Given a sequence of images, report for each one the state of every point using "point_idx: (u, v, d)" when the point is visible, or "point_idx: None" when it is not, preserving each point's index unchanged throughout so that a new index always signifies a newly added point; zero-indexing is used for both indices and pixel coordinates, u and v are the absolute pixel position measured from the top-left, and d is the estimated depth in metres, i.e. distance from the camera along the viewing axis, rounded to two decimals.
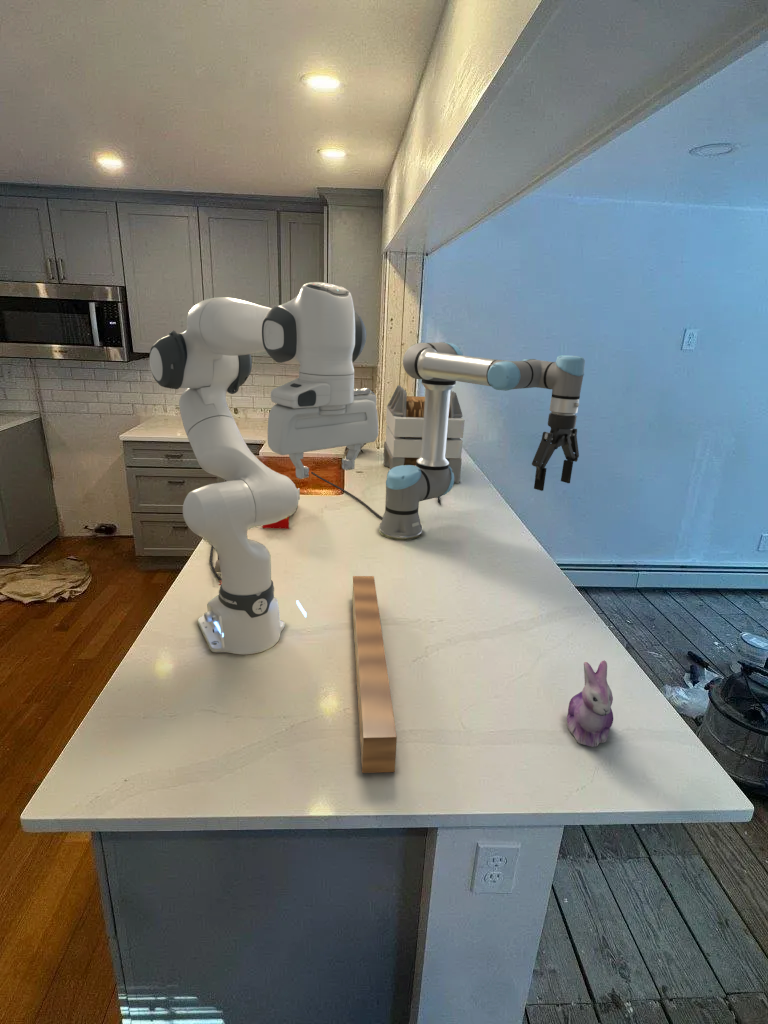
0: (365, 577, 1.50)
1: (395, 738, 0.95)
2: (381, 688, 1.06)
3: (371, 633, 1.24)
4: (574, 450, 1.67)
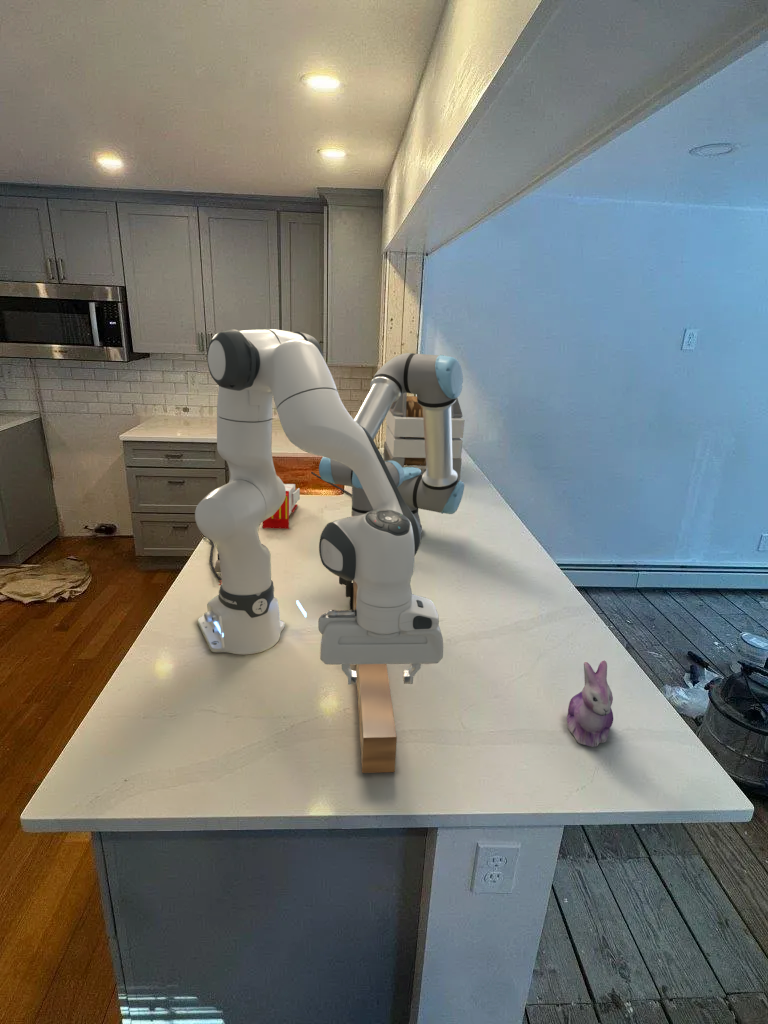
0: None
1: (395, 738, 0.95)
2: (381, 688, 1.06)
3: None
4: None
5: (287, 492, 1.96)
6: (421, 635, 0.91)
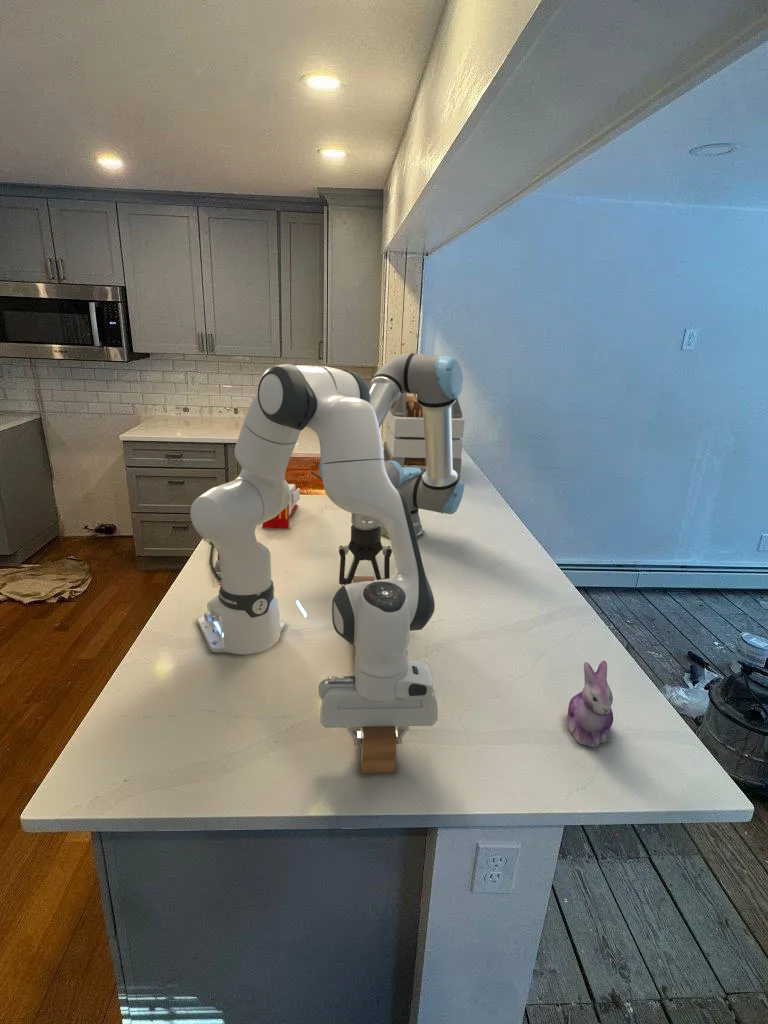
0: (365, 577, 1.50)
1: (395, 738, 0.95)
2: None
3: None
4: (384, 573, 1.46)
5: None
6: (417, 700, 0.96)
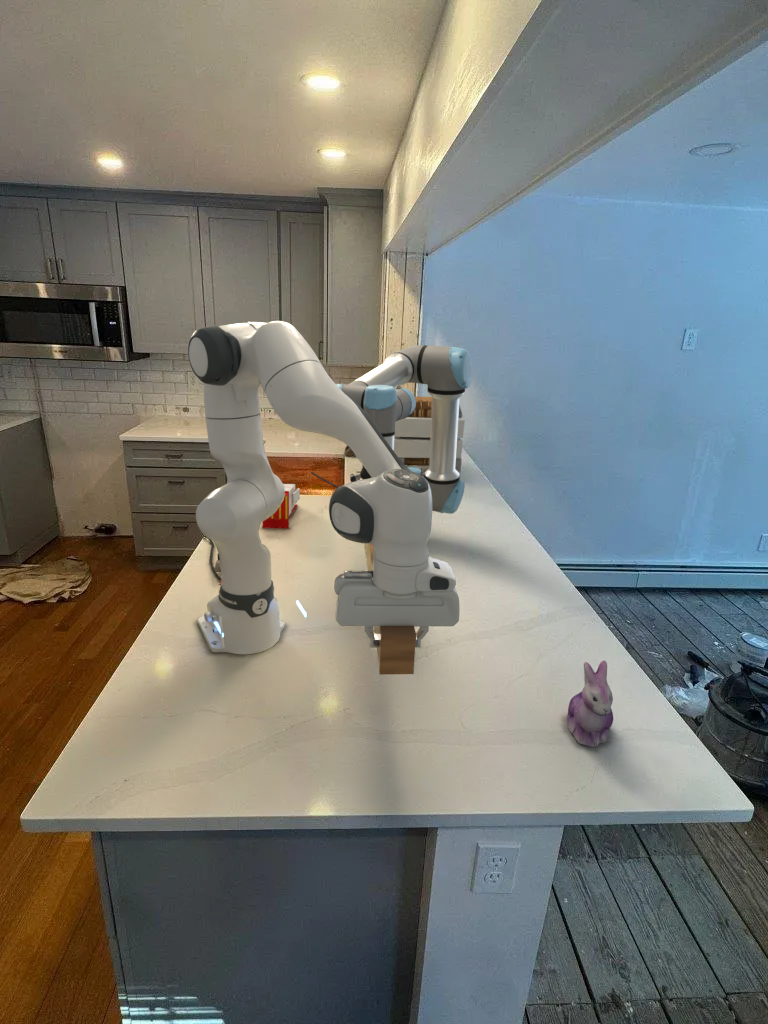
0: None
1: (414, 636, 0.90)
2: None
3: None
4: None
5: (287, 492, 1.96)
6: (438, 597, 0.91)
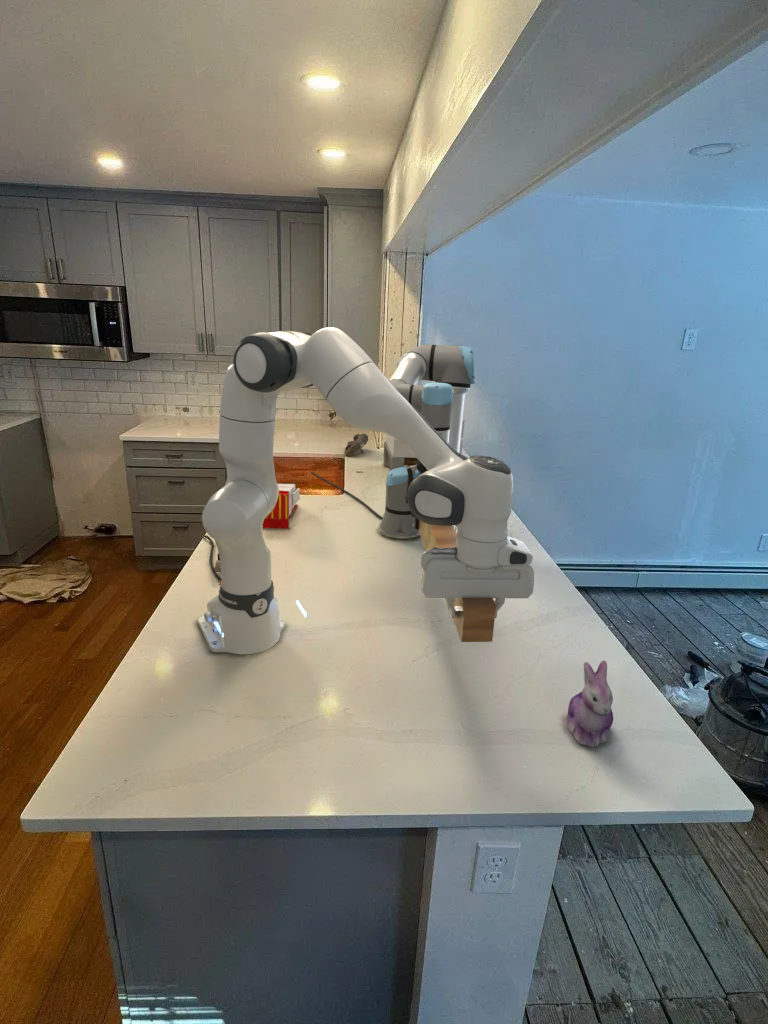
0: None
1: (494, 606, 0.99)
2: None
3: (448, 537, 1.29)
4: None
5: (287, 492, 1.96)
6: (514, 571, 1.00)
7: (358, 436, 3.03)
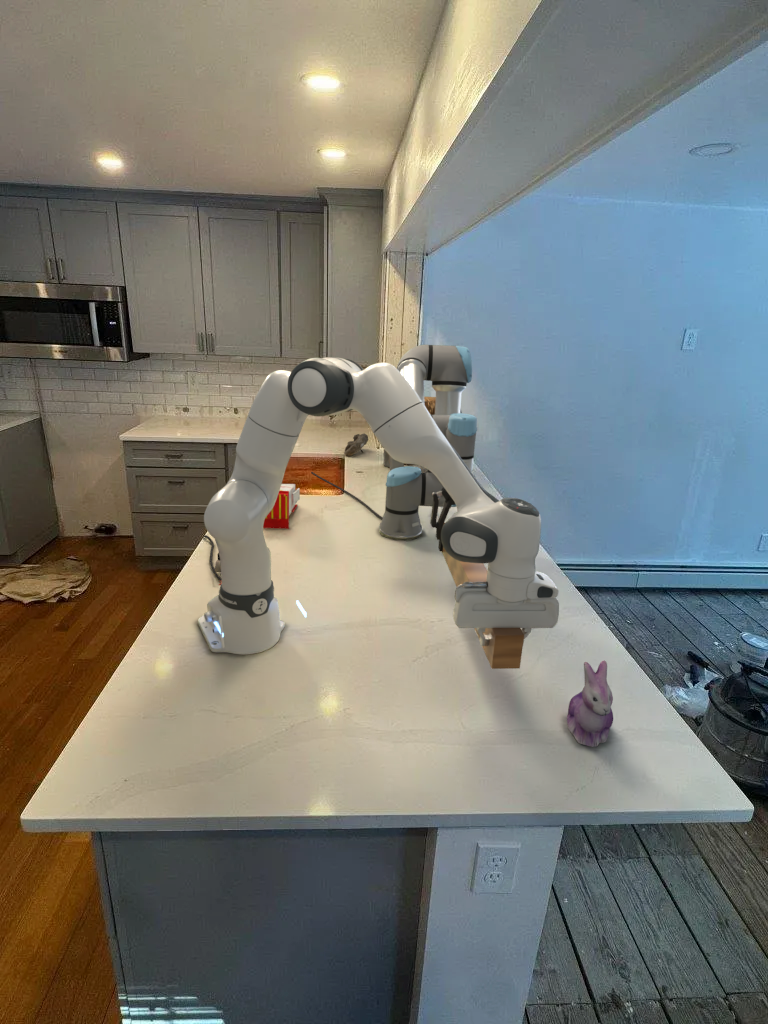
0: None
1: (523, 636, 1.07)
2: None
3: (474, 564, 1.37)
4: None
5: (287, 492, 1.96)
6: (541, 604, 1.09)
7: (358, 436, 3.03)
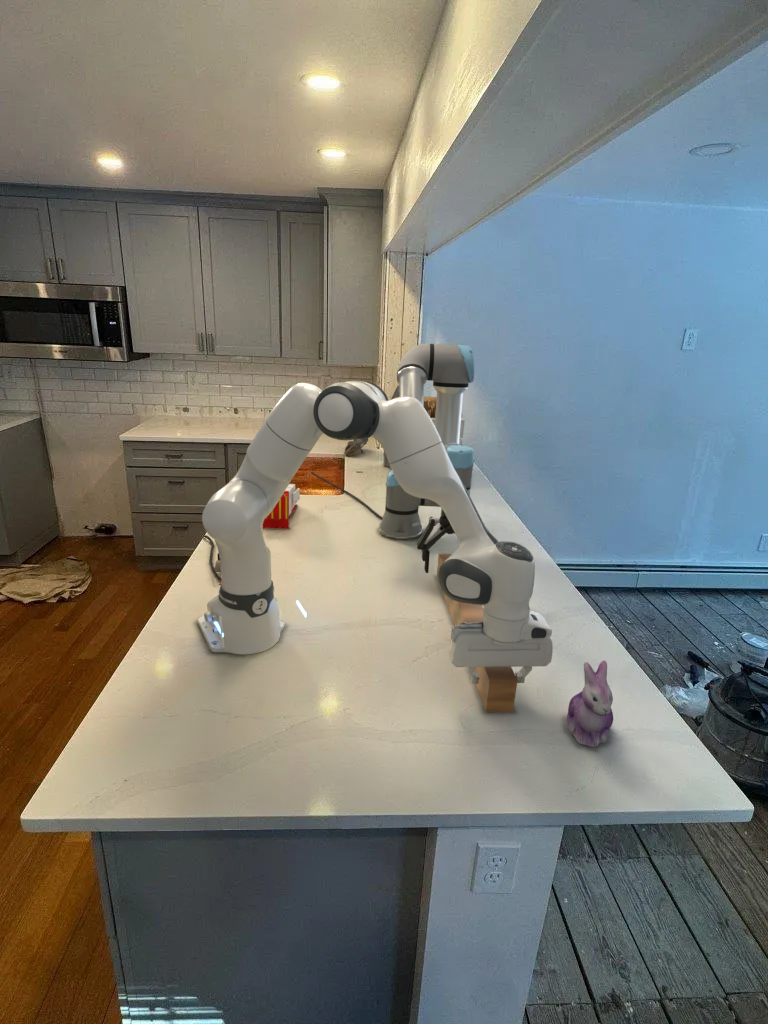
0: (450, 555, 1.66)
1: (516, 681, 1.11)
2: None
3: None
4: None
5: (287, 492, 1.96)
6: (535, 643, 1.12)
7: None
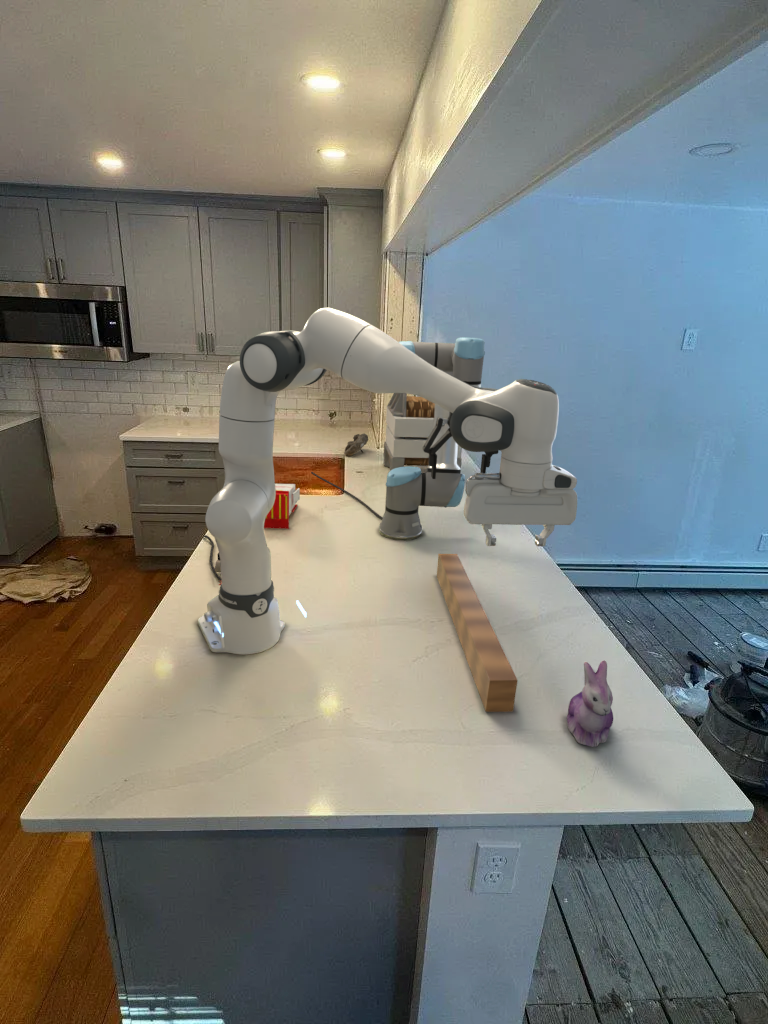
0: (450, 555, 1.66)
1: (516, 681, 1.11)
2: (493, 643, 1.23)
3: (470, 600, 1.40)
4: None
5: (287, 492, 1.96)
6: (558, 497, 1.01)
7: (358, 436, 3.03)
